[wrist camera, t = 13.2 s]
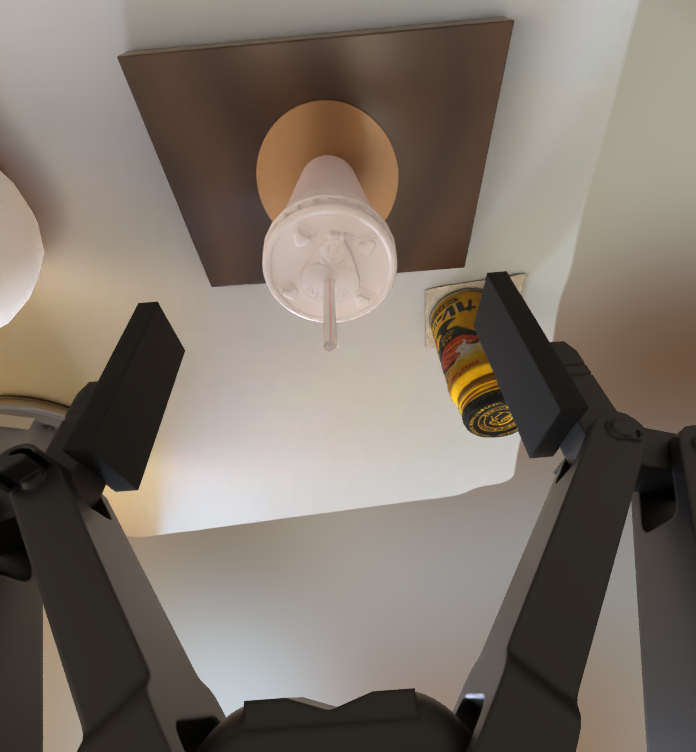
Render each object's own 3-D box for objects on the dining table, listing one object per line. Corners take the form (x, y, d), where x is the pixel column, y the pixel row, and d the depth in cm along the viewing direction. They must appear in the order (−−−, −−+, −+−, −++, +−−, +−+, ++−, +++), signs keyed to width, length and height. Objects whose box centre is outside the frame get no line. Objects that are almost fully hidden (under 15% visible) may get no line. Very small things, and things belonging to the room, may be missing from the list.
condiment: (424, 288, 32) (457, 398, 24) (525, 272, 31) (593, 380, 23) (425, 347, 37) (452, 452, 29) (510, 334, 36) (562, 439, 29)
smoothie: (276, 227, 25) (250, 383, 16) (278, 119, 21) (242, 251, 11) (367, 239, 26) (391, 392, 17) (389, 138, 22) (437, 275, 12)
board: (215, 277, 30) (211, 289, 29) (126, 51, 19) (114, 57, 18) (460, 257, 30) (465, 269, 29) (505, 16, 19) (516, 20, 18)
